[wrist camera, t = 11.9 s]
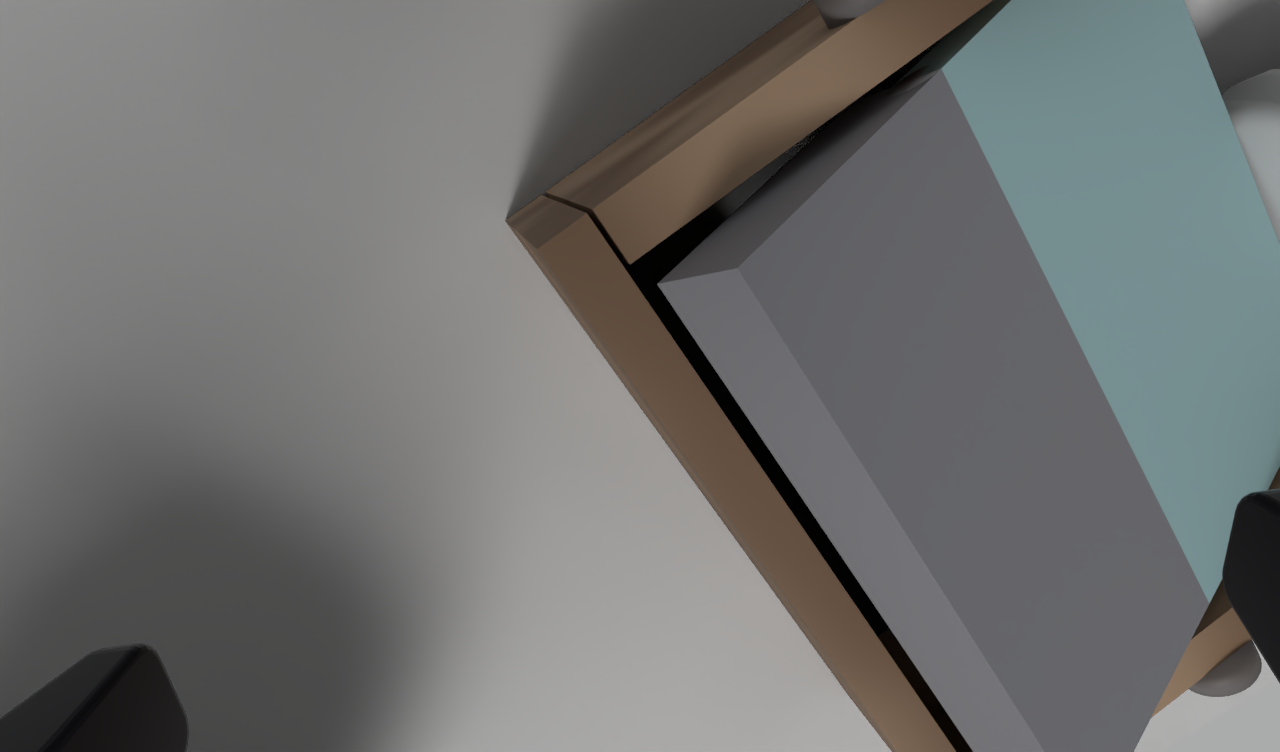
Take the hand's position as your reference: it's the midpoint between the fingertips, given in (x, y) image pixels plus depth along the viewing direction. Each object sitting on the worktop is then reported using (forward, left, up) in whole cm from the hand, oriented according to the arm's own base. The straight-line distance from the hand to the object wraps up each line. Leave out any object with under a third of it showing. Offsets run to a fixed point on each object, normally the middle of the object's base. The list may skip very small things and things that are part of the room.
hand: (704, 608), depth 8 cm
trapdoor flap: (+8, -5, -9) cm, 13 cm away
